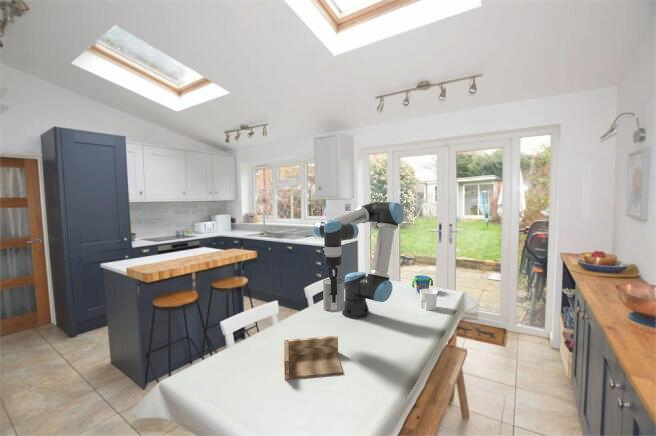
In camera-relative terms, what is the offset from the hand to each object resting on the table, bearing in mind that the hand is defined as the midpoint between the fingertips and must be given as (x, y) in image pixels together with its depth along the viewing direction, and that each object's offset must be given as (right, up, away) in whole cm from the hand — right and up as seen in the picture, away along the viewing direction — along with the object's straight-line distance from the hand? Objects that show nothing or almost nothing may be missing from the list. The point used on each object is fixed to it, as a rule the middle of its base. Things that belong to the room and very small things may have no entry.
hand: (333, 305), depth 137 cm
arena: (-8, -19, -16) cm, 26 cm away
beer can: (0, -2, 0) cm, 2 cm away
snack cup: (+62, -12, +73) cm, 97 cm away
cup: (+57, -14, +44) cm, 73 cm away
